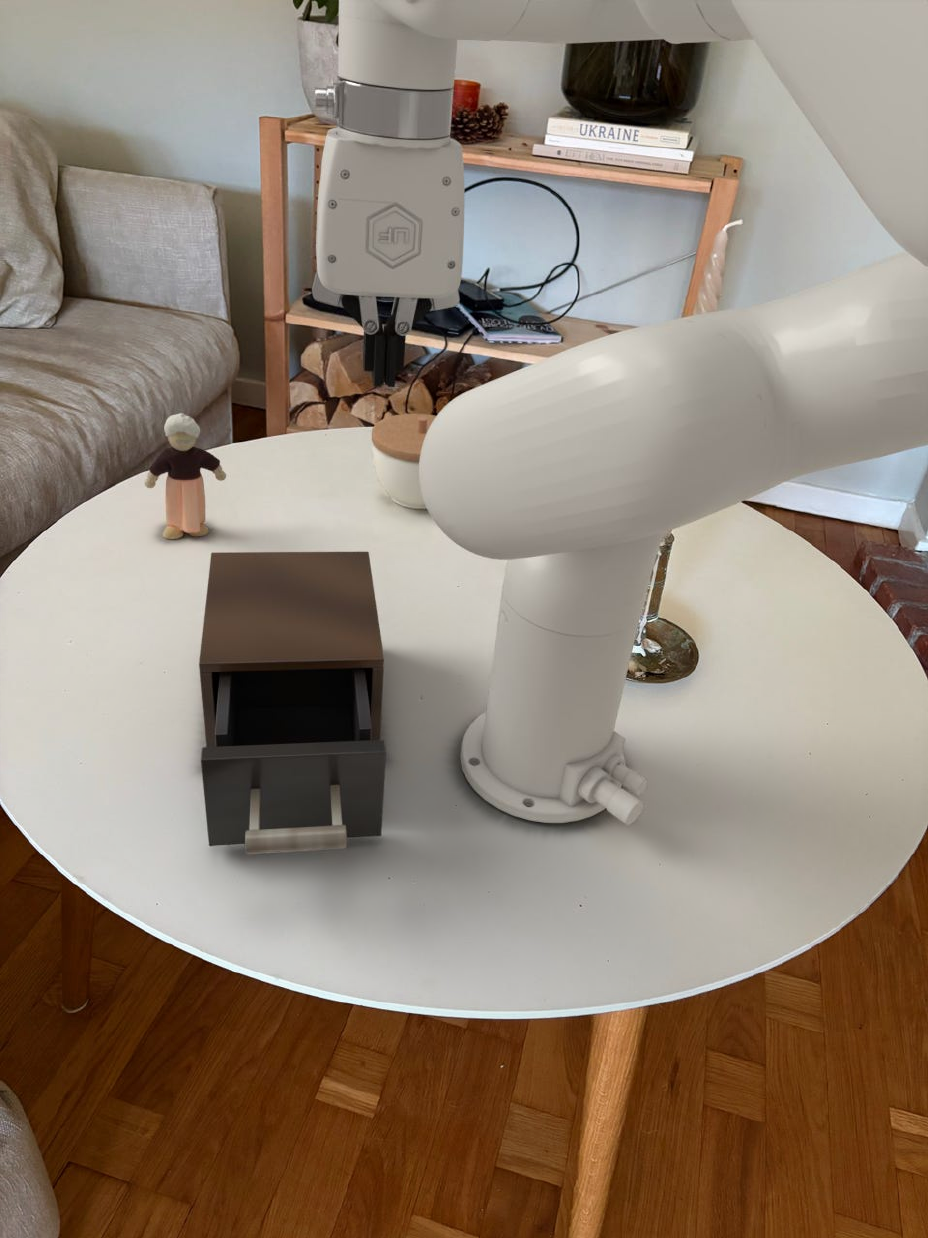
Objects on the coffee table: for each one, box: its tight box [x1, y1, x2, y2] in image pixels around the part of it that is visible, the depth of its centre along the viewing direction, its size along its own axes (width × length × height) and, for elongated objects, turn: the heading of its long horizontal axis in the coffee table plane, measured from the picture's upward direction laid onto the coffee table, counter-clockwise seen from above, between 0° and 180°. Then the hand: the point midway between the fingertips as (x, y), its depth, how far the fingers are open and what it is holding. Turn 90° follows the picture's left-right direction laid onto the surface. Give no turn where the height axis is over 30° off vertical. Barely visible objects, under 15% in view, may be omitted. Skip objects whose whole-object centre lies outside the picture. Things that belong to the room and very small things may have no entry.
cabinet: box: [198, 551, 385, 747], centre depth 75 cm, size 15×13×10 cm
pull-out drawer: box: [200, 668, 387, 855], centre depth 65 cm, size 18×11×8 cm, turn 9°
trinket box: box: [371, 413, 437, 510], centre depth 105 cm, size 11×11×9 cm
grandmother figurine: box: [144, 412, 227, 540], centre depth 94 cm, size 8×4×13 cm, turn 122°
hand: (382, 379), depth 74 cm, fingers closed
